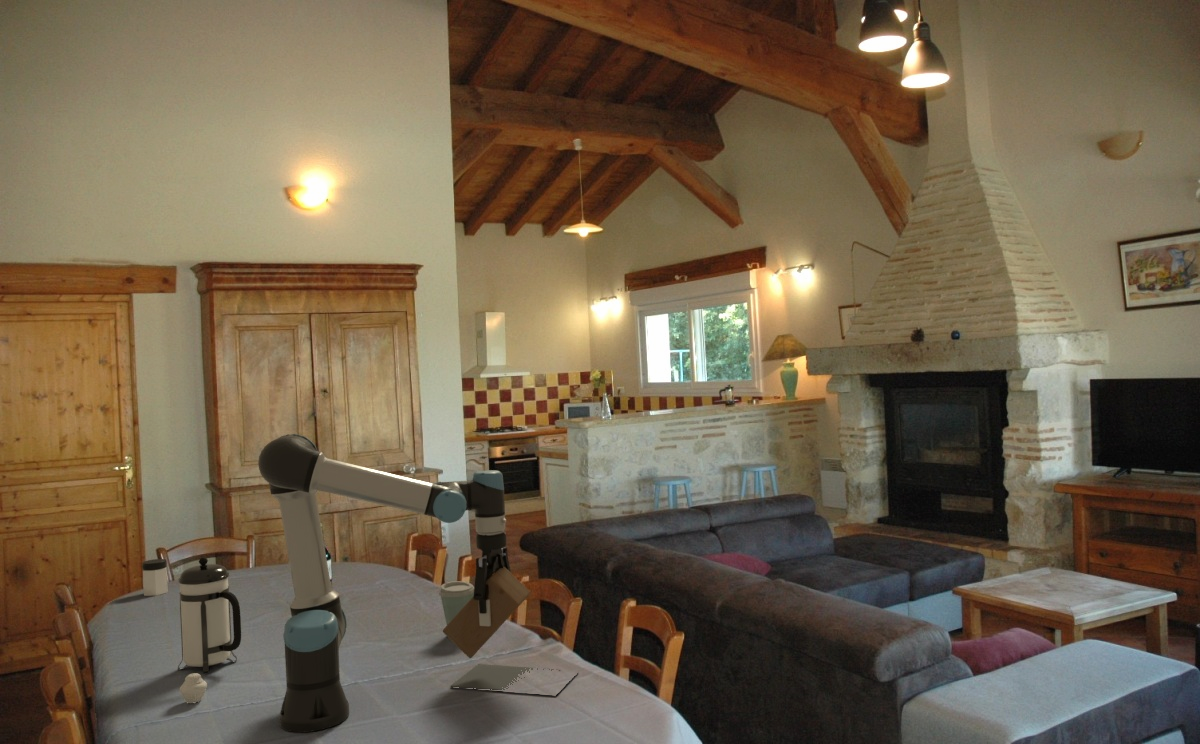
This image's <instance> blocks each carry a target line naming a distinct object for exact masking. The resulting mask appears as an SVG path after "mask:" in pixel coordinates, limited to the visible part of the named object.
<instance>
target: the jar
mask: <svg viewBox="0 0 1200 744" xmlns="http://www.w3.org/2000/svg"><path fill="white" fill-rule="evenodd" d="M167 564H168V563H167V559H165V558H155V559H150V560H149V559H148V560H145V561H143V562H142V563H141V569H142V587H143V595H144V597H152V596H154V597H157V596H160V595H163V594H167V593H168V572H167V571H168V569H167V566H168V565H167Z"/></svg>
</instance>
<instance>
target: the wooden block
mask: <svg viewBox="0 0 1200 744" xmlns="http://www.w3.org/2000/svg"><path fill="white" fill-rule="evenodd" d="M486 584H488V586H489V595H488V599H490V616H491V626H480V622H479V601H478V600H474V596H473V597H472V598H471V599H470V600H469V601H468V603H467V604H466V605H465V606H464V607H463V608H462V609H461V610H460V611H459V613H458V614H457V615H456V616H455V617H454V618H453V619H452V620H451V621H450V623H449V624H448V625H447V624H446V626H445V627H444V628H443V629H442V633H443V634H444V635H445V636H446V637H447V638H448V639H449V640H450V641H452V642H453V644H454V645H455V646H456V647H457V648H458V649H460V651H462V653H463V654H465V655H466V657H467V658H469V659H471V658H473V657H474V656H475V655H476V654H477V652H479V650H481V649H482V647H483V646H484V645H485V644H486V643H487V642H488V641H489V639H491V637H492V636H493V635H494V634H495V633H496V632H497V631H498V630H499V628H501V626H502V625H503V624H504V623H505V622H506V621H507V620H508V619H509V618H510V616H512V615H513V613H515V611H516V610H517V609H518V608H519V607H520V606H521V605H522V603H523V602H524V601H526V599H527V598H528V597H529V596H530V595H531V590H530V589H528V588H527V587H526V586H525V584H523V583H522V582H521V581H520V580H519V579H518V578H517V577H516V576H515V575H514V574H513V573H512V571H511V572H510V571H509V570H508V569H506V568H505V567H503V568H500V569H499V570H498V571H497V572H496V573H494V574H493V575H492V576H491V577H490V578H489V579H488V580H487V582H486Z"/></svg>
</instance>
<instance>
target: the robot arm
mask: <svg viewBox="0 0 1200 744" xmlns="http://www.w3.org/2000/svg"><path fill="white" fill-rule="evenodd" d="M257 465H258V470H259V473H260V475H261V477H262V478H263V479H264V481H266V482H267V483H268V484H269V485H268V486H269V490H270V496H272V497H274V498H275V499H277V501H278V504H279V508H280V515H281V521H282V527H283V532H284V533H283V534H284V539H285V545H286V550H287V557H288V562H289V570H290V574H291V580H292V587H293V593H294V598H293V600H292V601H291V602H290V604H289V608H290V615H291V617H289V619H287V621H286V622H285V624H284V630H283V641H284V659H285V660H284V661H285V678H286V680H285V681H286V691H285V695H284V698H283V700H282V705H281V708H280V712H279V727H281V729H283V730H284V731H288V732H293V733H307V732H308V733H309V732H316V731H322V730H325V729H330V728H331V727H332V728H333V727H334V726H337V725H338V724H341V723H342V722H344V721H346V720H347V718H349V715H350V703H349V702H348V700H347V697H346V694H345V691H344V688H343V686H342V684H341V680H340V679H341V676H340V671H341V670H340V655H339V653H340V652H339V651H340V650H339V649H340V646H341V644H342V641H343V639H344V637H345V635H346V631H347V617H346V614H345V611H344V610H343V608H342V604H341V598H340V594H339V592H338V591H336V590H334V588H332V583H331V578H330V571H329V567H328V566H329V565H328V559H327V554H326V553H327V552H326V547H325V542H324V536H323V531H322V524H321V518H320V512H319V511H320V510H319V507H318V499H317V495H316V493H317V491H319V492H320V491H321V492H324V493H328V494H332V495H338V496H342V497H346V498H351V499H355V500H359V501H364V502H368V503H373V504H376V505H377V504H378V505H381V506H385V507H390V508H394V509H398V510H403V511H407V512H412V513H416V514H421V515H424V516H427V517H432V518H435V519H438V520H440V522H444V523H447V524H452V523H456V522H457V521H459V520H461V519H462V517H463V516H464V515H465V512H466V511H474V512H475V513H474V519H475V521H474V522H475V523H474V524H475V532H476V535H475V538H476V539H475V541H476V542H475V543H476V548H477V549H478V550H481V557H476V558H475V568H476V569H475V579H474V600H478V601H479V622H480V626H491V616H490V599H488V595H489V586H488V584H486V582H487V580H488V579H489V578H490V577H491V576H492V575H493V574H495V573H496V572H497V571H498V570H499V569H500V568H503V567H505V568H506V569H508V570H509V571H510V572H511V573H512V571H511V567H510V560H509V556H508V547H507V533H506V531H505V530H506V523H507V521H508V520H507V518H506V512H505V511H506V508H505V505H506V504H505V486H504V477H503V473H502V472H501V471H500V470H494V469H493V470H492V469H490V470H487V469H486V470H478V471H476V472H474V473H473V477H472V479H469V480H460V481H459V480H458V481H457V480H454V481H438V482H437V481H436V482H428V481H423V480H420V479H414V478H411V477H406V476H402V475H398V474H393V473H390V472H386V471H382V470H377V469H374V468H368V467H366V466H361V465H356V464H352V463H349V462H346V461H345V462H344V461H340V460H335V459H332V458H327V457H326V456H325V454H324V453H323V452H322V451H319V450H318V448H317V447H316V444H315V443H314V442H313V441H312V440H311V439H309V438H308V437H306V436H303V435H301V434H297V433H293V434H284V435H281V436H279V437H278V438H275V439H273V440H271V441H269V443H267V444H266V445H265V446H264V447H263V448H262V450H261V451H260V453H259V456H258V462H257Z"/></svg>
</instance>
